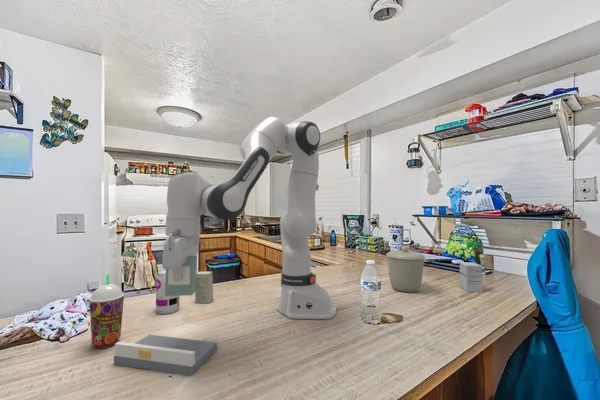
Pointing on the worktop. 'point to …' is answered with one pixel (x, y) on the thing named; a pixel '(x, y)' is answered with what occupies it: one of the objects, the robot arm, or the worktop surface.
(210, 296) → the skincare box
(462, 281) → the supplement box
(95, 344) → the smoothie
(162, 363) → the shelf board
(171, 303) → the supplement can
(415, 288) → the canister
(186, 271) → the product box
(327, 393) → the worktop surface
